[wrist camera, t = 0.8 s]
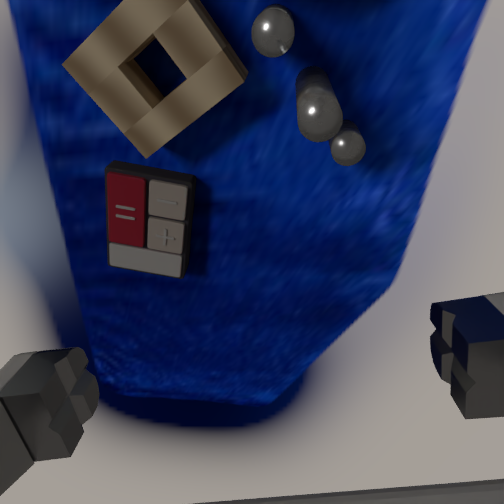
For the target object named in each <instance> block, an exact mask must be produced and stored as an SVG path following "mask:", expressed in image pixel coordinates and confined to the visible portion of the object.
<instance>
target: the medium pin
mask: <svg viewBox="0 0 504 504" xmlns="http://www.w3.org/2000/svg"><path fill="white" fill-rule="evenodd" d="M293 40H294V23H293V17H292V14H291V12H290V11H289V10H288V8H286V7H285V6H284V5H281V4H272V5H269V6H267V7H266V8H265V9H264V10H263V11H262V12H261V13H260V14H259V15H258V17H257V18H256V19H255V21H254V23H253V26H252V41H253V44H254V46H255V48H256V49H257V50H258V51H259V52H260V53H261V54H262V55H264V56H267V57H278V56H281V55H283V54H284V53H286V52H287V51H288V49H289V48H290V47H291V45H292V43H293Z"/></svg>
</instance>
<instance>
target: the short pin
mask: <svg viewBox="0 0 504 504" xmlns="http://www.w3.org/2000/svg"><path fill="white" fill-rule="evenodd" d="M328 141H329V145H330V149H331V153H332V157H333V159H334V160H335V161H336V162H337V163H338V164H340V165H343V166H350V165H354V164H356V163H357V162H359V161H360V160H361V159H362V158H363V156H364V154H365V151H366V145H365V142H364V140H363V138H362V135H361V133H360V131H359V129H358V127H357V125H356V124H355V123H354V122H352V121H350V120H343V121H342V125H341V128H340V130H339V131H338V133H337V134H336V135H335V136H334V137H332V138H331V139H329V140H328Z"/></svg>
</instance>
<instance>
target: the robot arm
mask: <svg viewBox="0 0 504 504" xmlns="http://www.w3.org/2000/svg"><path fill="white" fill-rule="evenodd" d="M430 320H431V322H432V323H433V325H434V326H435V327H436V330H435V332H433V334H432V335H431V336H430V345H431V354H432V358H433V363H434V365H435V368H436V370H437V372H438V374H439V376H440V377H441V379H442V380H444V381H446V382H447V383H449V384H451V396H452V398H453V400H454V401H455V403H456V405H457V406H458V408H459V410H460V411H461V413H462V414H463V416H464V418H465V419H476V418H490V417H504V292H501V293H495V294H489V295H482V296H478V297H471V298H464V299H457V300H450V301H444V302H437V303H432V305H431V309H430ZM87 364H88V360H87V357H86V355H85V353H84V351H83V350H82V349H80V348H78V347H75V348H65V349H56V350H46V351H39V352H37V351H35V352H28V353H21V354H18V355H14V356H13V357H12V358H11V359H10V360H9V361H8V362H7V363H6V365H5V366H4V367H3V368H2V369H1V370H0V496H1V495H2V494H3V493H4V492H5V491H6V490H7V489H8V488H9V487H10V486H11V485H12V484H13V483H14V482H15V481H16V480H18V479H19V477H21V476H22V475H23V474H24V473H25V472H26V471H27V470H28V469H29V468H30V467H31V466H32V465H33V464H34V462H35V461H43V460H51V459H58V458H67V457H71V455H72V453H73V452H74V450H75V448H76V446H77V444H78V442H79V440H80V439H81V437H82V435H83V433H84V430H83V427H82V424H84V423H85V422H86V421H87V420H88V419H90V418H91V417H92V416H93V414H94V412H95V410H96V408H97V405H98V399H99V389H98V384H97V381H96V378H95V376H94V375H92V374H91V373H90V372H88V371H87V370H86V367H87ZM195 504H504V479H497V480H484V481H473V482H460V483H448V484H435V485H422V486H411V487H410V486H409V487H396V488H384V489H371V490H358V491H346V492H332V493H320V494H307V495H295V496H281V497H271V498H270V497H269V498H257V499H244V500H232V501H219V502H209V503H195Z"/></svg>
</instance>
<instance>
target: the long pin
mask: <svg viewBox="0 0 504 504" xmlns="http://www.w3.org/2000/svg"><path fill="white" fill-rule="evenodd" d="M295 87H296V102H297V118H298V127H299V130H300V132H301V133H302V135H303V136H304V137H306V138H307V139H309V140H311V141H314V142H323V141H327V140H329V139H331V138H332V137H334V136H335V135H336V134H337V133H338V131H339V130H340V128H341V125H342V121H343V114H342V110H341V108H340V105H339V103H338V100H337V98H336V96H335V93H334V91H333V88H332V86H331V83H330V81H329V79H328V76H327V74H326V72H325V71H324V70H323V69H322V68H320V67H318V66H308V67H306V68H304V69H303V70H301V71H300V73H299V74H298V76H297V78H296V82H295Z"/></svg>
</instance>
